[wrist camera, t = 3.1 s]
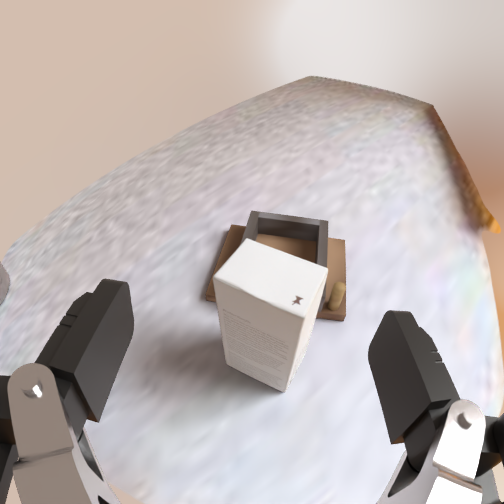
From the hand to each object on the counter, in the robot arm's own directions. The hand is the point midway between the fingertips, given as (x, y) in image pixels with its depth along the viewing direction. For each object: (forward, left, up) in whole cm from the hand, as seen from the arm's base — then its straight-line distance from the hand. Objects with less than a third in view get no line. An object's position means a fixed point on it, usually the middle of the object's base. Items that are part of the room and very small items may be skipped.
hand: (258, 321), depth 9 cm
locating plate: (0, +18, -18) cm, 25 cm away
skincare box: (0, +7, -18) cm, 19 cm away
